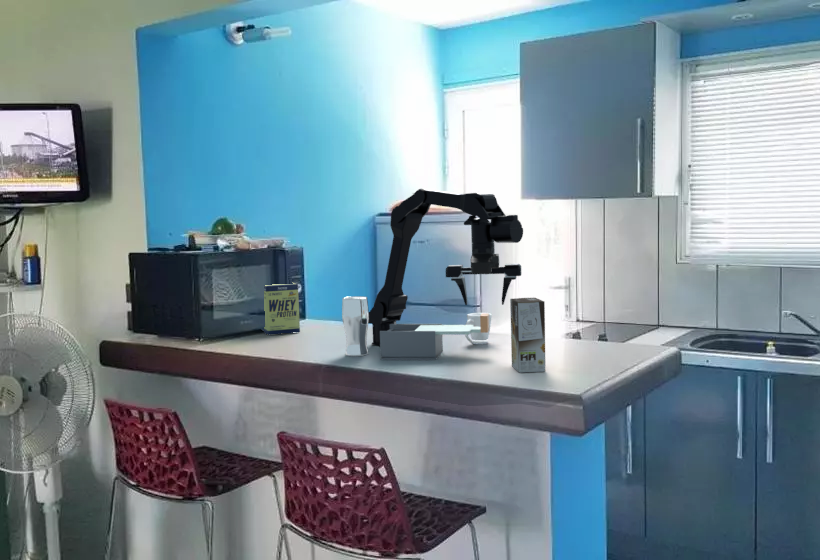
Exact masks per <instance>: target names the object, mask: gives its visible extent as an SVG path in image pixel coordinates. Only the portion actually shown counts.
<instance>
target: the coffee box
mask: <svg viewBox="0 0 820 560" xmlns="http://www.w3.org/2000/svg"><path fill="white" fill-rule="evenodd" d="M509 302H510V307H509V308H510V339H511V340H510V342H511V343H510V344H511V345H510V346H511V347H510V348H511V366H512V367H513V368H514V369H515V370H516V372H518V373H539V372H541V373H544V372H546V322H545V321H546V316H545V314H546V312H545V311H546V310H545V308H546V307H545V301H544V300H542V299H539V298H536V297H518V298H510V299H509Z"/></svg>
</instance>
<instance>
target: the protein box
mask: <svg viewBox="0 0 820 560" xmlns="http://www.w3.org/2000/svg"><path fill="white" fill-rule="evenodd" d="M292 283H293V284H272V285H265V286H264V311H265V327H264V332H265V333H266V335H267V334H268V335H267V336H270V335H269V334H278V335H282V334H281V333H290V334H294V333H293V332H301V327H300V326H301V325H300V303H299V302H300V301H299V299H300V298H299V284H298V283H295V282H292ZM264 332H263V333H264ZM265 333H264V334H265Z"/></svg>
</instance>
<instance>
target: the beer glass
mask: <svg viewBox="0 0 820 560" xmlns="http://www.w3.org/2000/svg"><path fill="white" fill-rule="evenodd" d="M341 302H342V303H341V317H342V319H341V320H342V325H343V330H344V334H345V339H346V345H345V346H346V348H345V352H344V353H345V354H344V355H345V356H347V357H363V356H367V355H369V349H368V344H367V340H368V339H367V337H368V328H369V323H368V321H369V312H370V311H369V301H368V297H367V296H360V295H359V296H358V295H357V296H345V297H342V301H341Z"/></svg>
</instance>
